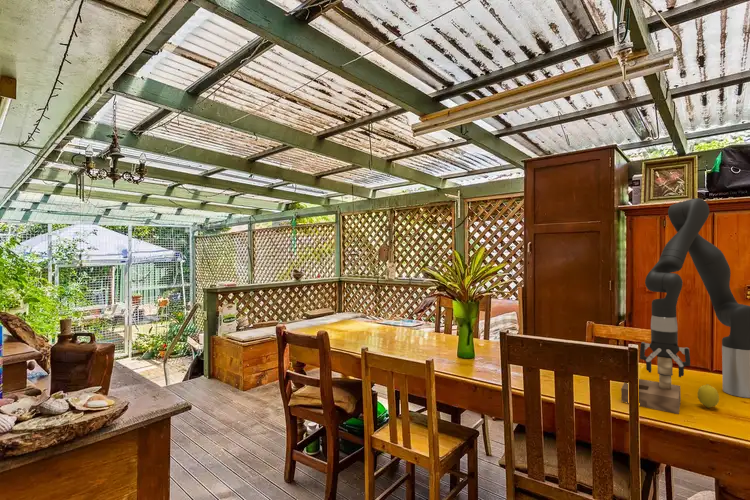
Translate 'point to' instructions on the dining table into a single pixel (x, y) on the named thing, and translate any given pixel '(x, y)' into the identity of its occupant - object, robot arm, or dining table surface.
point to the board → (656, 396)
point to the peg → (664, 372)
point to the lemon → (708, 396)
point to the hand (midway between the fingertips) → (664, 374)
